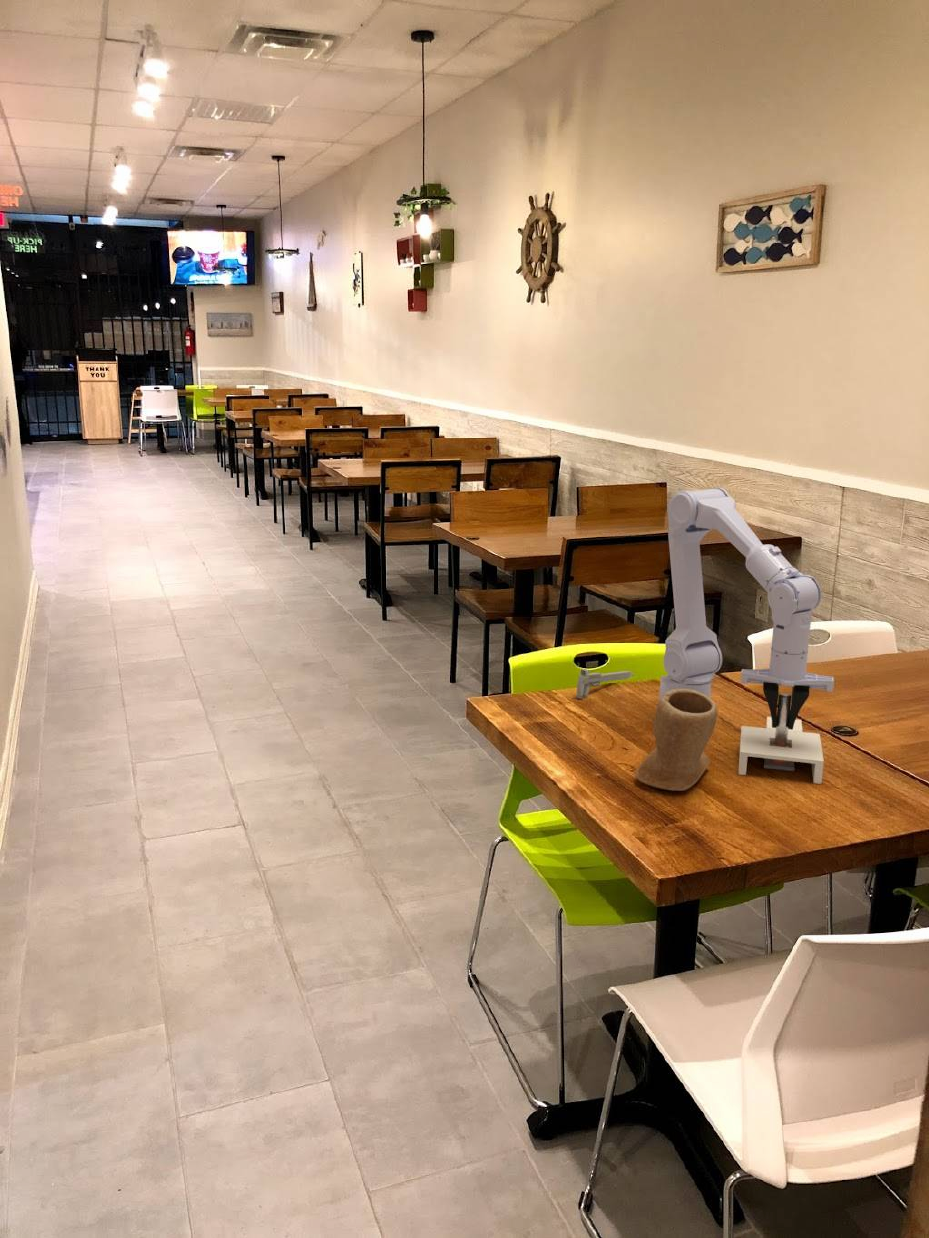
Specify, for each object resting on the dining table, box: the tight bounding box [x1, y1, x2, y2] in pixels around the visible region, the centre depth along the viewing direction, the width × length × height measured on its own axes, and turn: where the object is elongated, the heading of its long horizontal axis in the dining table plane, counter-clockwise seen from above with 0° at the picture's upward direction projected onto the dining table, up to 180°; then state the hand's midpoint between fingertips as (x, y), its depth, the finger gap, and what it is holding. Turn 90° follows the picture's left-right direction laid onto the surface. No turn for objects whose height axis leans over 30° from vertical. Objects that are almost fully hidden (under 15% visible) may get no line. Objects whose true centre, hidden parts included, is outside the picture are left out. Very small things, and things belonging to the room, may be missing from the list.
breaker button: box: [763, 744, 795, 772], centre depth 163 cm, size 5×5×3 cm
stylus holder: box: [765, 716, 804, 732], centre depth 175 cm, size 6×6×2 cm
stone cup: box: [635, 689, 718, 792], centre depth 157 cm, size 15×12×15 cm
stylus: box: [774, 692, 792, 747], centre depth 161 cm, size 2×2×9 cm
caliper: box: [576, 668, 635, 700], centre depth 201 cm, size 20×1×6 cm, turn 139°
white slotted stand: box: [737, 725, 825, 785], centre depth 163 cm, size 13×12×4 cm
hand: (782, 726), depth 162 cm, fingers closed on stylus, 2 cm apart
